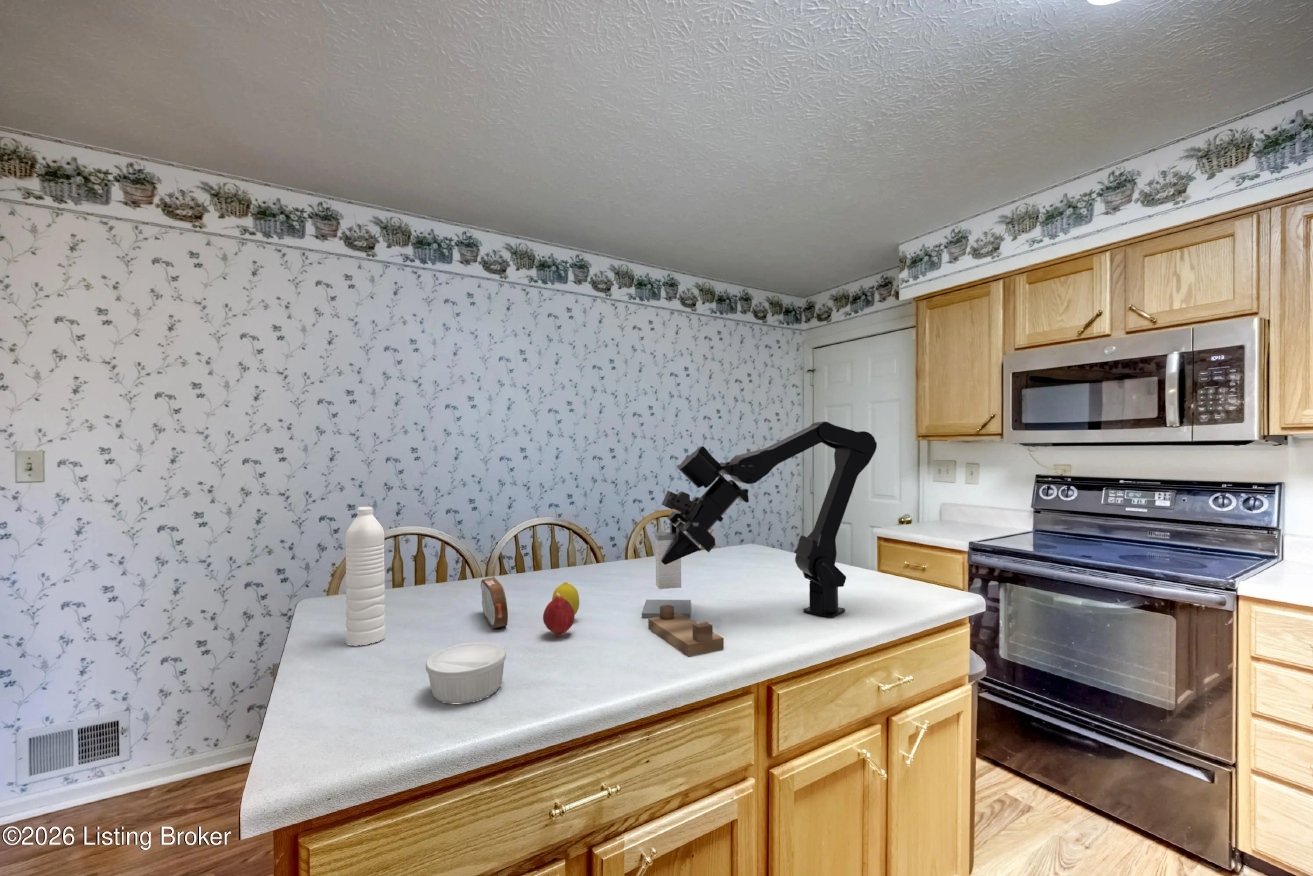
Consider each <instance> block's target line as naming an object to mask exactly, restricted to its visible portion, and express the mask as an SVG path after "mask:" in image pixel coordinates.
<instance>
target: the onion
mask: <svg viewBox="0 0 1313 876" xmlns="http://www.w3.org/2000/svg"><path fill="white" fill-rule="evenodd" d="M575 615H576V614H574V610H573V607H572V606H571V605H570V603H569V602H568V601H567V600H566V599H564V598H563V597H561V596H560V594H559V593H556V596H555V599H553V600H552V599H551V600H550V601H549V603H548V604H547V605H546V606H545V608H544V610H543V614H542V620H543V623H544V625H545V627H546V628H547V629H548V630H549V631H550V632H551V633H552V634H554V635H555V636H556V637H560V636H562V635H564V634H565V633H566V632H568V630H569V629H570V628H571V627H572V626H573V624H574V623H575V622H574V621H575Z"/></svg>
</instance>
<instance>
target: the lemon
mask: <svg viewBox="0 0 1313 876" xmlns="http://www.w3.org/2000/svg"><path fill="white" fill-rule="evenodd" d="M556 593H559V594H560V596H561V597H563V598H564V599H566V600H567V601H568V602H569V603H570V605H571V606H572V607H573V610H574V614H575V615H576V614H578V613H577V612H579V611H578V610H579V608H580V596H579V592H578V589H577V588H576V587H575V586H574V585H573V584H570V583H569V582H568V581H564V582H563V583H562V584H560V585H558V586H557V587H556V588H555V589H554V592H553V594H552V597H551V601H552V600H553V599H555V596H556Z"/></svg>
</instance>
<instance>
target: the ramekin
mask: <svg viewBox="0 0 1313 876" xmlns="http://www.w3.org/2000/svg"><path fill="white" fill-rule="evenodd" d="M506 659H507V651H506V648H505V647H503V646H502V645H500V644H498V643H494V642H493V643H492V642H483V641H480V642H475V641H474V642H465V643H459V644H456V645H452V646H448V647H446V648H443V649H441V650H437V652H436V651H435V652H434V653H433V654H432V655H431V656H429V657H428V658H427V660H426V662H425V671H426V672H427V674H428V679H429V684H430V689H431V692H432V696H433V698H435V699H436V700H437V701H438V700H439V701H438V702H440V701H441V702H440V703H442V702H445V703H468V704H470V703H469V702H473V701H477V700H480V699H483V698H485V699H487V698H488V697H487V696H489V697H491V696H492V695H494V694H495V693H496V692H497V691H498V690H499V688H500V686H501V684H502V682H503V675H504V667H505V661H506ZM497 689H498V690H497ZM494 692H495V693H494ZM493 693H494V694H493ZM491 694H492V695H491ZM490 695H491V696H490ZM486 697H487V698H486ZM483 700H484V699H483ZM480 701H481V700H480ZM477 702H478V701H477ZM445 703H444V704H445ZM473 703H474V702H473Z"/></svg>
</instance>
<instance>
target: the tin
mask: <svg viewBox="0 0 1313 876" xmlns="http://www.w3.org/2000/svg"><path fill="white" fill-rule="evenodd" d="M480 589H481V599H482V600H481V606H482V611H483V615H484V618H486V620H487V622H488V623H489V625H490V626H491V628H492V629H499V628H504V626H505V628H506V627H507V626H508V619H509V612H508V611H509V610H508V602H507V598H506V597H507V596H506V593H505V589H504V587H503V584H501V582H500V581H499V580H498V579H497V578H496V577H495V576H492V577H487V578H483V579H481V581H480Z"/></svg>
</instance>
